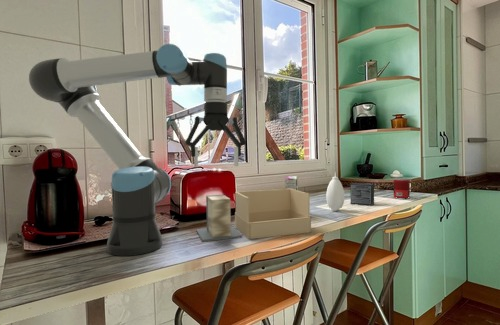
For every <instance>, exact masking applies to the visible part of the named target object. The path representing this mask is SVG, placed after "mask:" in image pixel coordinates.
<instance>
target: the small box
mask: <svg viewBox="0 0 500 325" xmlns="http://www.w3.org/2000/svg"><path fill="white" fill-rule="evenodd" d="M355 204H358V206H369V205H372V206H373V205H375V183H367V182H365V183H364V182H362V183H360V182H352V183H350V205H355Z"/></svg>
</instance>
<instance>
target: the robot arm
mask: <svg viewBox="0 0 500 325" xmlns="http://www.w3.org/2000/svg"><path fill="white" fill-rule="evenodd" d="M161 78H166V81H167V82H168V84H169V85H170V86H178V87H180V86H196V85H198V86H203V90H204V91H203V94H204V98H203V99H204V100H203V101H204V102H205V103H203V104H204V110H203V111H204V116H203V117H200V116H199V115H196V116H195V117H194V122H193V123H194V124H192V128H191V130H190V132H189V134H188V135H187V138H186V140H185V142H184V144H185V145H186V146H189V148H190V156H191V157H192V158H193V157H194V159H193V160H194V161H193V162H194V163H193V164H194V168H199V162H198V161H199V159H198V158H199V157H198V156H199V155H198V154H199V153H198V151H199V150H198V146H197V144H199V142H200V141H201V139H202V138H203V137H204V136H205V134H207V133H208V131H211V132H213V131H217V132H218V131H219V132H221V131H222V132H224V133H225V135H227V137H228V138H229V139H230V140H231V141H232V142H233V144H234V145H235V146H233V166H234V167H239V157H241V155H242V146H245V145H247V141H246V139H245V136H244V135H243V133H242V131H241V128H240V126H239V125H238V119H237V117H236V116H234V117H231V118H229V117H228V104H227V103H226V102H228V67H227V58H226V56H225V55H224V54H222V53H219V52H210V53H206V54H204V55H203V60H198V61H196V60H195V61H194V60H190V59H189V58H188V56H187V54H186V53H185V51H183V49H181V48H180V47H179V46H177V44H174V43H164V44H163V45H161V46H160V47H159V48H158V49H157V50H151V51H142V52H133V53H125V54H117V55H109V56H108V55H107V56H99V57H92V58H84V59H77V60H75V59H73V60H69V59H68V58H66V57H61V58H60V57H59V58H52V59H46V60H42V61H39V62H37V63H36V64H34V66H32V68H30V71H29V73H28V82H29V86H30V87H31V89H32V90H33V92H34V93H35V94H36V95H37V96H38V97H40V98H42V99H44V100H46V101H51V102H54V103H58V104H59V105H60V106H61V107H62V109H63V110H64V111H65V112H66V113H67V114H68V116H69V117H74V118H77V119H78V120H79V121H80V123H81V124H82V126H84V127H85V129H86V130H87V132H88V133H89V134H90V135H91V136H92V137H93V139H94V140H95V141H96V143H97V144H98V145H99V146H100V147H101V149H102V150H103V151H104V152H105V154H106V155H107V156H108V157H109V158H110V160H111V161H112V162H113V163H114V165H115V166H116V167H117V170H115V171H114V172H112V174H111V182H110V188H111V207H112V226H111V228H110V232H109V235H108V238H107V242H106V251H107V253H108V254H110V255H113V256H119V257H130V256H138V255H145V254H148V253H151V252H154V251H156V250H159V249H160V248H161V247H162V245H163V237H162V234H161V231H160V229H159V226H158V224H157V223H158V222H157V219H156V203H159V202H161V201H163V200H164V199H165V198H166V197H167V196H168V194H169V193H170V191H171V190H172V180H171V177H170V175H169V174H168V172H166V170H164V169H163V168H160V167H158V166H157V164H156V163H155V162H154V161H153V160H152V158H150V157H145V156H144V155H143V154H142V153H141V152H140V151H139V150H138V148H137V147H136V146H135V144H134V143H133V142H132V141H131V140H130V139H129V137H128V136H127V135H126V134H125V132H124V131H123V130H122V129H121V126H119V125H118V124H117V122H116V121H115V120H114V119H113V117H112V116H111V115H110V114H109V113H108V111H107V110H106V109H105V107H103V105H102V104H101V99H102V98H101V96H100V94H99V93H98V89H97V86H103V85H112V84H118V83H120V84H121V83H126V82H127V83H128V82H135V81H143V80H144V81H145V80H151V79H152V80H153V79H161ZM202 122H203V123H204V125H205V126H204V127H203V129H202V131H200V133H199V134H198V135H197V136H196V137H195V139H193V137H194V135H195V134H196V132H197V129H198V127H199V124H202ZM228 123H230V125H231V126H232V128H233V129H234V132H235V135H236V136H237V137H236V136H235V135H234V133H232V131H231V130H230V128H229V127H228V126H227V125H228ZM192 139H193V141H192ZM191 141H192V142H191Z"/></svg>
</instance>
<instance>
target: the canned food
mask: <svg viewBox="0 0 500 325" xmlns="http://www.w3.org/2000/svg"><path fill="white" fill-rule="evenodd" d="M410 184H411V182H410V178H409V177H394V178H393V198H394V197H397V198H408V197H409V198H410V193H411V191H410ZM397 198H396V199H397Z"/></svg>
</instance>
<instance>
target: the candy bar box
mask: <svg viewBox="0 0 500 325" xmlns="http://www.w3.org/2000/svg"><path fill="white" fill-rule="evenodd" d="M285 189H294V190H298V191H299V176H298V175H289V176H286V178H285Z"/></svg>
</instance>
